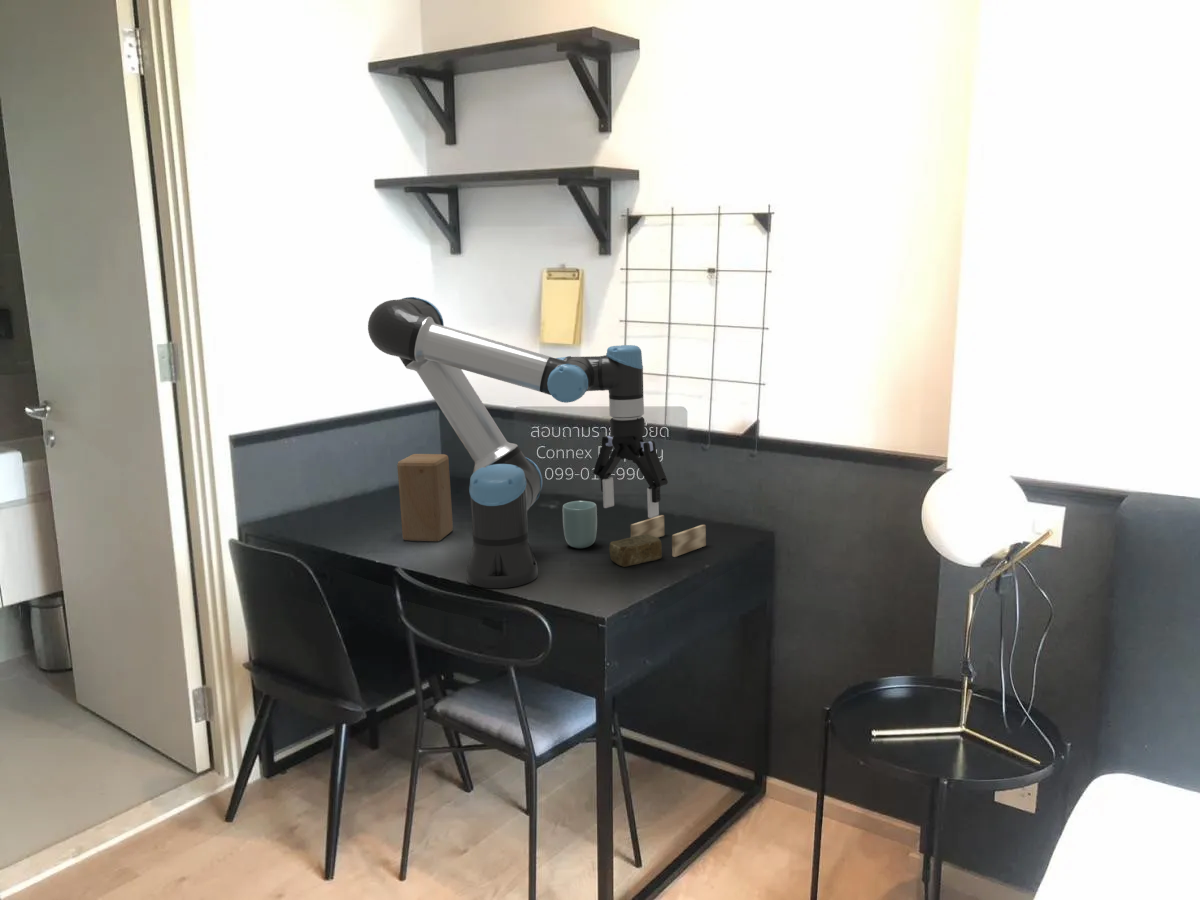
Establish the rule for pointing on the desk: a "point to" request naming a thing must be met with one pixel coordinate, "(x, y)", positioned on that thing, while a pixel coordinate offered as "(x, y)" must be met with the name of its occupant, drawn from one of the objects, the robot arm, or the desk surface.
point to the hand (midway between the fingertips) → (630, 511)
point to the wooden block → (425, 497)
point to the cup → (580, 523)
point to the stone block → (635, 550)
